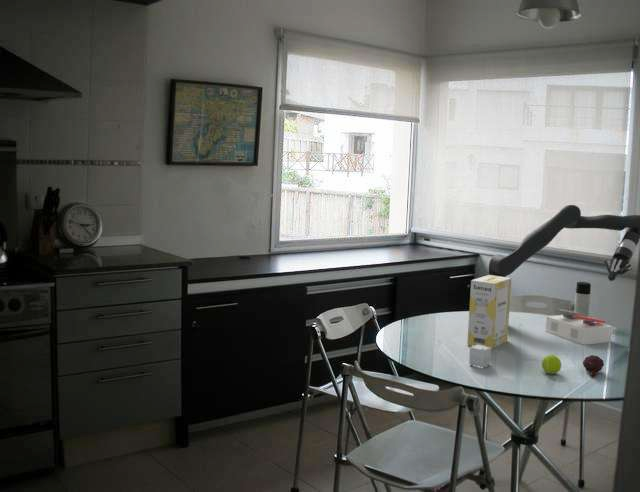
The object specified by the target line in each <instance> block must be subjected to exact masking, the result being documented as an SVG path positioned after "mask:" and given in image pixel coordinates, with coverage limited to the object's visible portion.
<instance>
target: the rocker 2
mask: <svg viewBox="0 0 640 492" xmlns="http://www.w3.org/2000/svg"><path fill="white" fill-rule="evenodd" d="M573 317H575V318H579V319H582V320H587V321H591V322H598V323H603V324H606V320H603V319H600V318H598V317H597V318H596V317H590V316H588V317H586V316H581V315H576V314H574V316H573Z"/></svg>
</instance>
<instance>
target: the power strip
mask: <svg viewBox="0 0 640 492" xmlns="http://www.w3.org/2000/svg"><path fill="white" fill-rule="evenodd" d="M545 322H546V323H545V332H547V333H550V334H552V335H555V336H558V337H559V338H560V337H561V338H564V339H566V340H569V341H572V342H575V343H577V344H581V345H583V346H585V345H593V344H604V343H605V344H606V343H611V342H612V338H613V329H614V328H613V327H614V326H613V325H609V324H606V323H605V324H603V323H598V322H591V321H587V320H582V319H579V318H575V317H573V316H572V315H569V314H564V313H562V314H560V315H559V314H558V315H549V316H548V315H547V316H546V321H545Z"/></svg>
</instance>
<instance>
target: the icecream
mask: <svg viewBox="0 0 640 492" xmlns="http://www.w3.org/2000/svg"><path fill="white" fill-rule="evenodd" d="M582 364H583V365H582V366H583V367H584V368H585V371H586V372H587V373H590V376H591V378H595V377H596V375H597V374H598V373H599V372H600V371H602V370H603V367H604V366H605V365H604V360H603V359H602V358H600V356H598V355H594V354H592V355H589V356H586V357H585V358H584V360H583V362H582Z"/></svg>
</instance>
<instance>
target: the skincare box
mask: <svg viewBox="0 0 640 492" xmlns="http://www.w3.org/2000/svg"><path fill="white" fill-rule="evenodd" d="M491 354H492V349H491V347H487V346H482V345H478V344H477V345H475V346H470V348H469V359H468V360H469V361H468V363H469V364H471V365H475V366H480V367H485V366H487V367H489V366H491ZM469 364H468V365H469ZM488 365H489V366H488ZM485 368H486V367H485Z"/></svg>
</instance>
